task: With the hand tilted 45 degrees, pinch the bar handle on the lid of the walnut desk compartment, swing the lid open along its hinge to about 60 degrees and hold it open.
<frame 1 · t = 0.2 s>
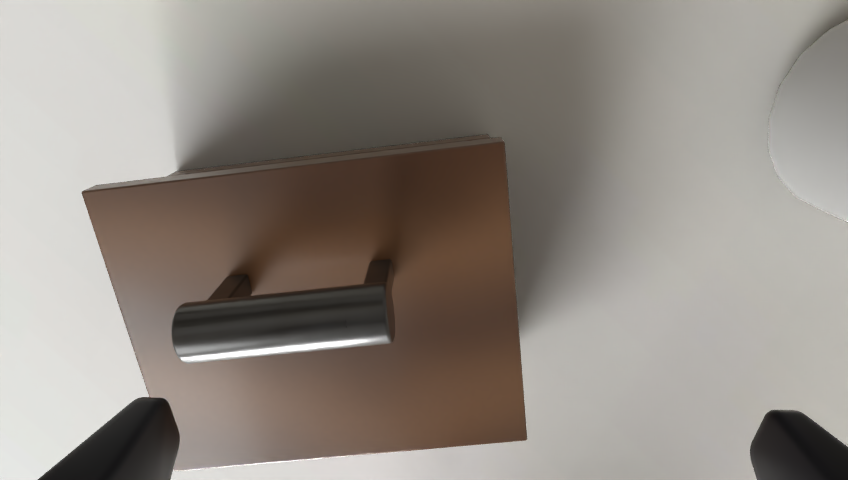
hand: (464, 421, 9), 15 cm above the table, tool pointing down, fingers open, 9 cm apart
compartment lid: (310, 349, 17), point 8 cm above the table, hinge at 0.0°
compartment: (349, 264, 24), on the table
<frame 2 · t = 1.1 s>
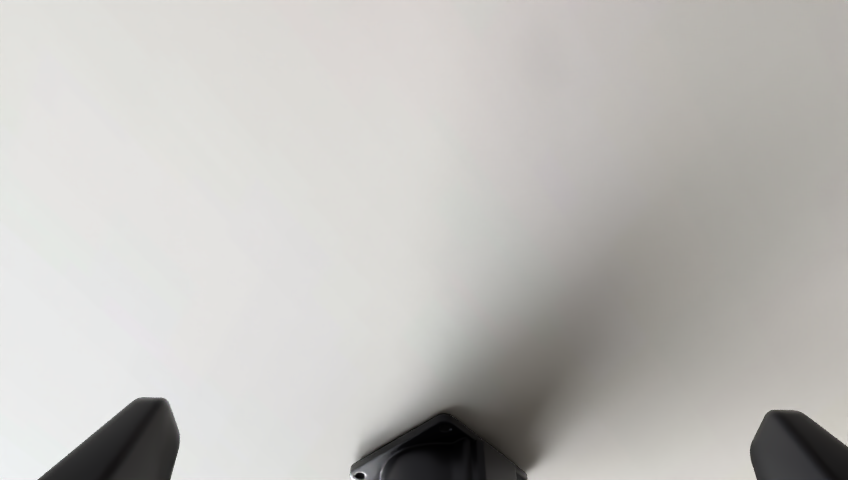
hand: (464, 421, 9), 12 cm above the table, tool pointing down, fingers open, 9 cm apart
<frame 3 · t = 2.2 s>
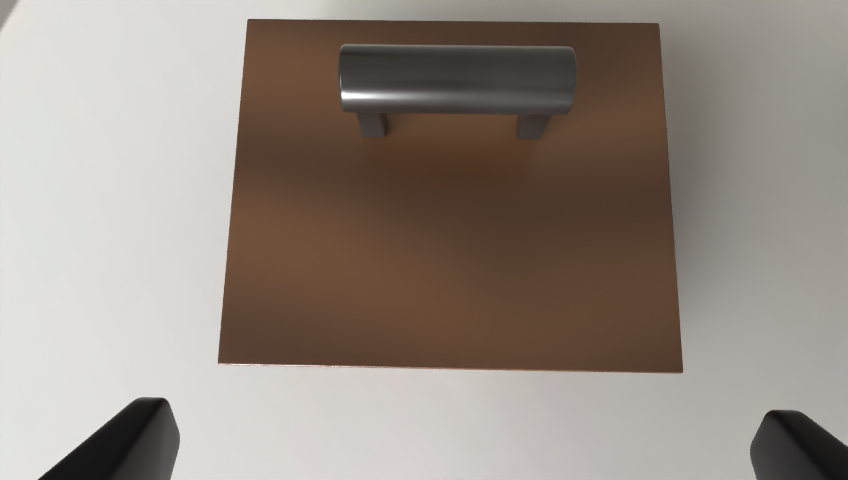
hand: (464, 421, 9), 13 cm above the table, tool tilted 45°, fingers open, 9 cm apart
compartment lid: (452, 167, 15), point 8 cm above the table, hinge at 0.0°
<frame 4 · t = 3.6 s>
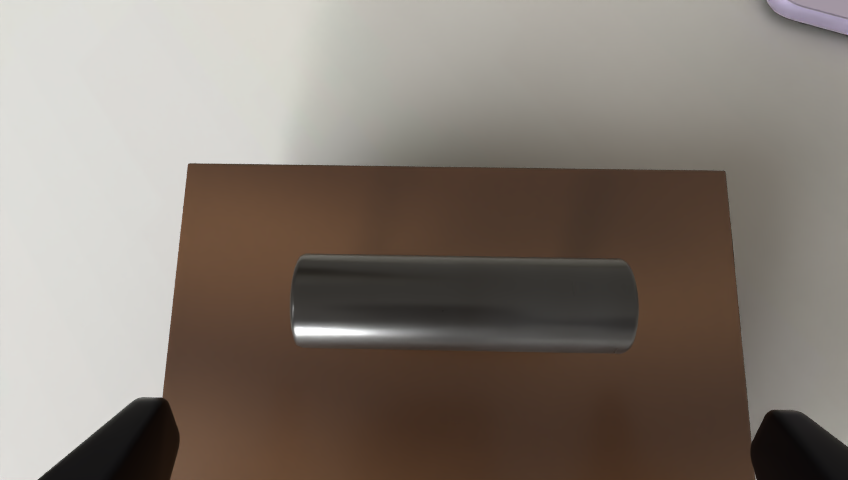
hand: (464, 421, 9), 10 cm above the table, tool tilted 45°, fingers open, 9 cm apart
compartment lid: (456, 400, 11), point 8 cm above the table, hinge at 0.0°
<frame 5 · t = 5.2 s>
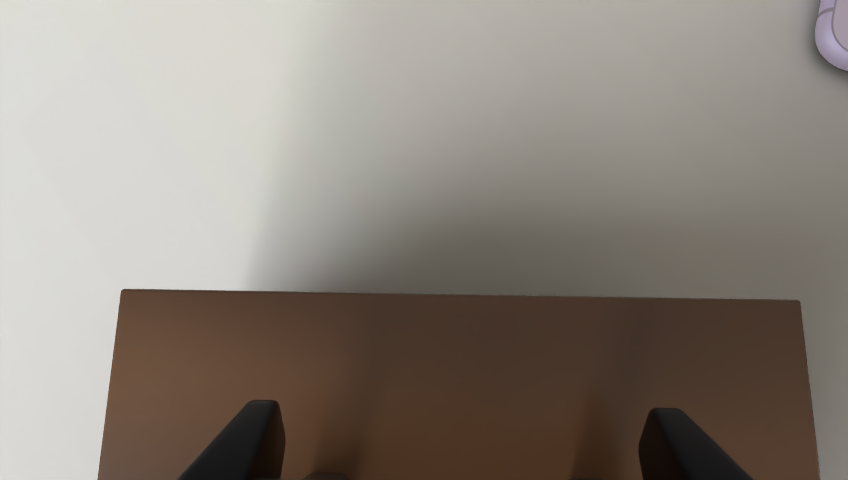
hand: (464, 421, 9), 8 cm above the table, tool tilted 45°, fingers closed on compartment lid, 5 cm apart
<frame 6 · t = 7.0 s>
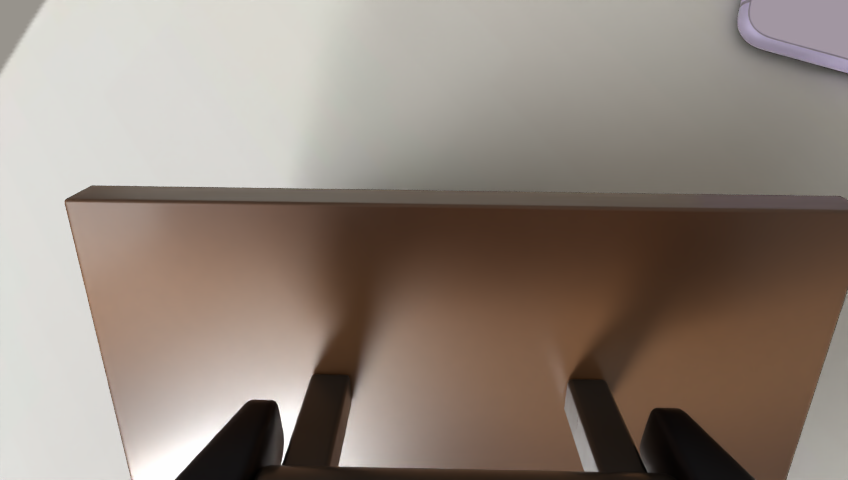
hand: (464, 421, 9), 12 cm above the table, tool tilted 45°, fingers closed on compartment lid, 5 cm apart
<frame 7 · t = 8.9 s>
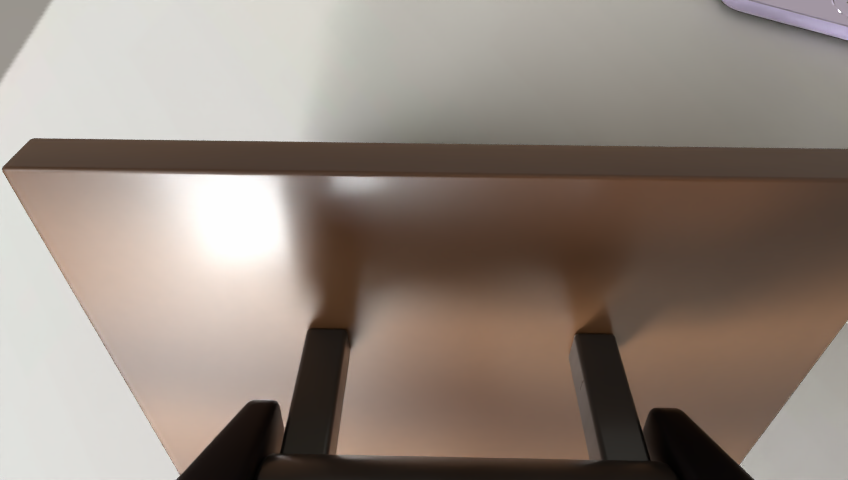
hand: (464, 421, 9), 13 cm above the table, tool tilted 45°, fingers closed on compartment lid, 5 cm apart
compartment lid: (457, 473, 10), point 11 cm above the table, hinge at 54.8°, touching gripper
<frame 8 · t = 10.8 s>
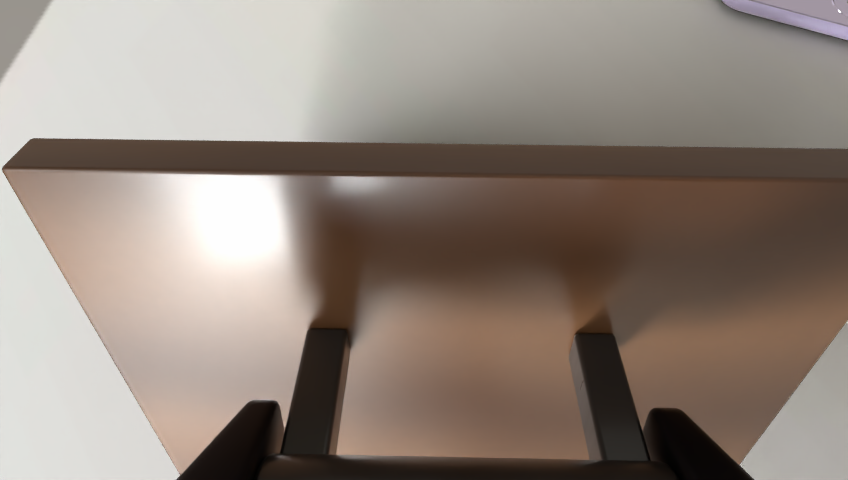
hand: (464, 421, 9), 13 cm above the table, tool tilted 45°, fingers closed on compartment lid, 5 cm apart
compartment lid: (457, 473, 10), point 11 cm above the table, hinge at 54.8°, touching gripper
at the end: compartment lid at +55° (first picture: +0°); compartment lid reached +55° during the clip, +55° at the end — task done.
